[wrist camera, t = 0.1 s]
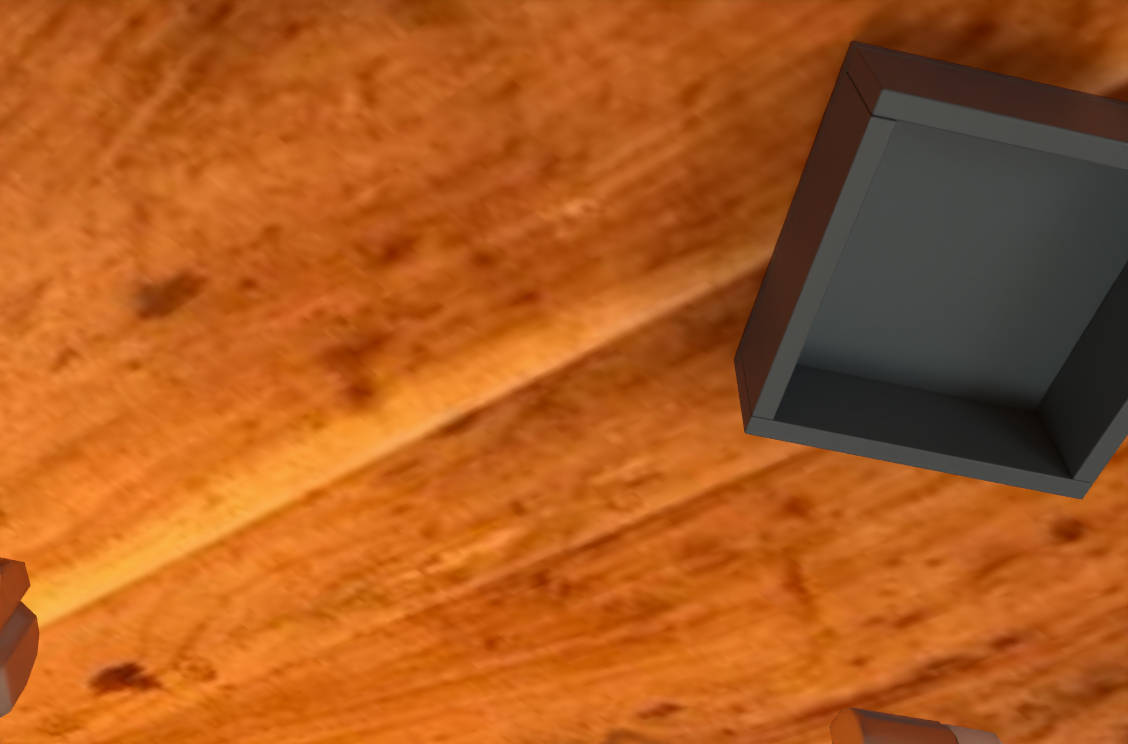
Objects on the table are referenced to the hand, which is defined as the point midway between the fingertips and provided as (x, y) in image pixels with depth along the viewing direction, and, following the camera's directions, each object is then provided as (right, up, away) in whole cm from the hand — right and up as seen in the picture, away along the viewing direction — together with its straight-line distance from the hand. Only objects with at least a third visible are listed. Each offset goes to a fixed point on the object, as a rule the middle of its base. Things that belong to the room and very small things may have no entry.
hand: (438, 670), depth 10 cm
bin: (+15, +7, +24) cm, 30 cm away
